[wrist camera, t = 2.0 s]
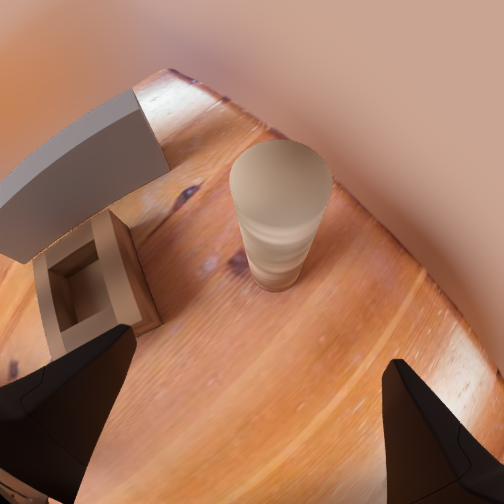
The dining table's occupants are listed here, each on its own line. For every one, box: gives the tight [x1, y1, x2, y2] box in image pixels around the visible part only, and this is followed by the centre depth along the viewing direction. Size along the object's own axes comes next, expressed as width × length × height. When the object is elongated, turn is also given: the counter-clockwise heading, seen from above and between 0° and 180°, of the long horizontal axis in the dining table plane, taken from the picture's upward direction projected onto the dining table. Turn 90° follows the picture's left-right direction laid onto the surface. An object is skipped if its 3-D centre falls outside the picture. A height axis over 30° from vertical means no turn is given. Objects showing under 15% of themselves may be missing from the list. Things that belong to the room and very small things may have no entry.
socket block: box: [33, 209, 163, 361], centre depth 20 cm, size 10×10×4 cm
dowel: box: [229, 140, 333, 292], centre depth 16 cm, size 4×4×13 cm
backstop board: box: [0, 88, 171, 264], centre depth 22 cm, size 4×22×9 cm, turn 117°
